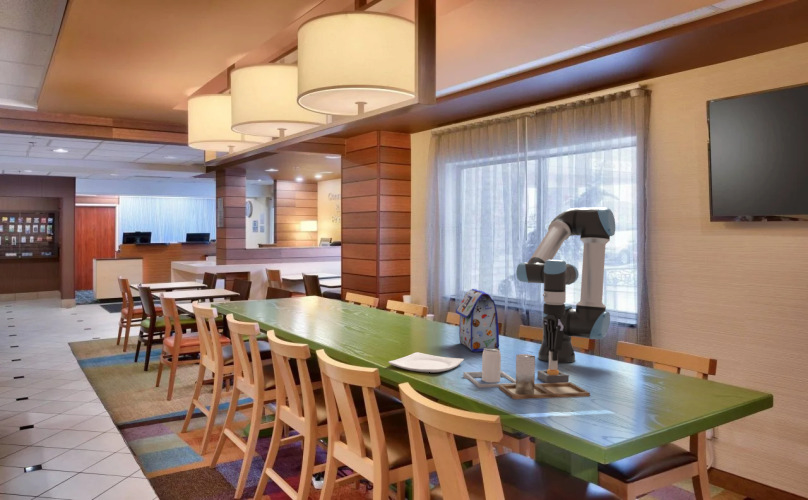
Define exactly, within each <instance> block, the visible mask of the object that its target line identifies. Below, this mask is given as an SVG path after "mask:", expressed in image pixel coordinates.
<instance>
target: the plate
mask: <svg viewBox="0 0 808 500" xmlns="http://www.w3.org/2000/svg"><path fill="white" fill-rule="evenodd" d="M464 360H465V359H464V358H458V357H447V356H439V355H432V354H428V353H422V352H418V351H417V352H416V351H415V352H413V353H411V354H409V355H406V356H403V357H400V358H397V359H394V360H388V364H390V365H391V366H393V367H397V368H399V369H404V370H408V371H411V372H418V373H419V372H420V373H429V372H430V374H431V373H433V374H434V373H441V372H445V371H450V370H452V369H454V368H456V367H458V366H459V365H460V364H461V363H462V362H463V361H464Z"/></svg>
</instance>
